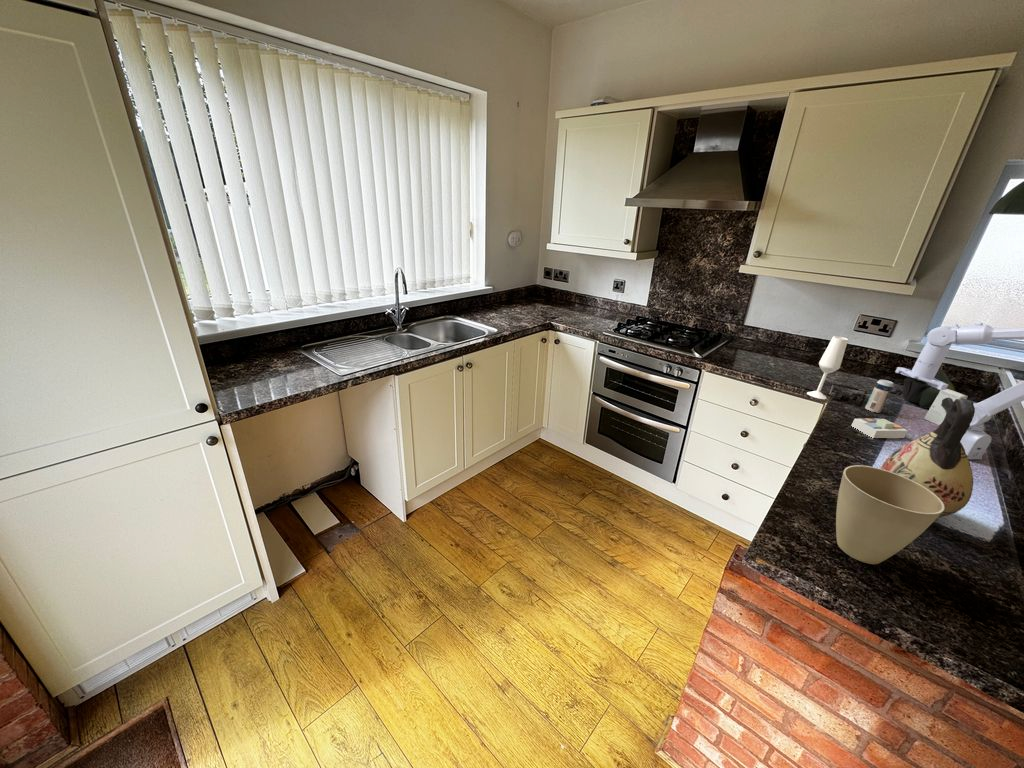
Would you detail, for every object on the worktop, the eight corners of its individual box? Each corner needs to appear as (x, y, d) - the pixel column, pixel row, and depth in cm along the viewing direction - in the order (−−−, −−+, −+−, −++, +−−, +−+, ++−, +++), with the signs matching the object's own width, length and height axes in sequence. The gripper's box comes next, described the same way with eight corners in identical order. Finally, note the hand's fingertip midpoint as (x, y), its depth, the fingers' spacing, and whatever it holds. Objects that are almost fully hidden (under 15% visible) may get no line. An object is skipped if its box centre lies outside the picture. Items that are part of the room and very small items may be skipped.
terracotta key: (899, 433, 136) (902, 427, 135) (891, 433, 135) (895, 427, 134) (890, 428, 138) (893, 422, 138) (882, 428, 138) (886, 422, 137)
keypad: (903, 438, 135) (908, 429, 134) (872, 438, 133) (877, 429, 132) (880, 426, 142) (884, 417, 141) (850, 426, 140) (855, 417, 139)
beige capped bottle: (883, 414, 152) (897, 384, 147) (868, 412, 153) (883, 382, 148) (875, 409, 156) (889, 380, 152) (861, 406, 157) (875, 378, 152)
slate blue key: (878, 433, 134) (882, 427, 133) (871, 433, 134) (874, 427, 133) (870, 428, 137) (873, 422, 136) (862, 428, 137) (865, 422, 136)
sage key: (890, 430, 135) (894, 423, 134) (883, 430, 134) (886, 423, 133) (882, 425, 137) (885, 419, 136) (874, 425, 137) (877, 419, 136)
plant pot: (861, 525, 92) (893, 466, 86) (925, 581, 78) (968, 515, 72) (798, 523, 91) (826, 462, 85) (851, 578, 78) (888, 512, 71)
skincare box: (923, 418, 151) (939, 389, 147) (930, 418, 153) (947, 388, 148) (943, 427, 146) (960, 396, 141) (951, 426, 147) (968, 395, 143)
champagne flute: (806, 390, 169) (829, 334, 159) (825, 395, 166) (850, 338, 156) (807, 395, 163) (830, 337, 154) (827, 400, 160) (852, 341, 151)
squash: (911, 395, 158) (955, 372, 152) (887, 382, 172) (927, 360, 166) (931, 422, 159) (976, 400, 153) (906, 407, 173) (947, 386, 167)
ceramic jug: (867, 481, 109) (920, 377, 97) (945, 509, 101) (1015, 399, 89) (866, 512, 97) (928, 398, 85) (956, 547, 88) (1039, 425, 76)
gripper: (896, 354, 138) (878, 391, 144) (942, 371, 125) (921, 410, 131) (913, 355, 140) (894, 391, 145) (961, 371, 127) (938, 410, 132)
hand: (908, 400), depth 138 cm, fingers closed
